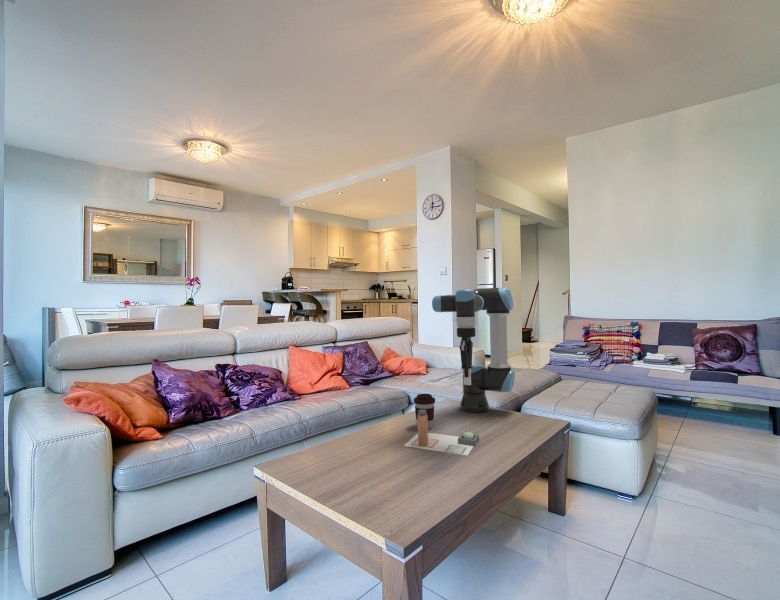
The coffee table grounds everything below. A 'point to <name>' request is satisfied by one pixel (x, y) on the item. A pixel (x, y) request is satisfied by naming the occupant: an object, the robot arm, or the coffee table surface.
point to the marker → (422, 428)
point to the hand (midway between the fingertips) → (467, 384)
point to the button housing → (468, 440)
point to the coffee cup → (425, 407)
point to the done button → (468, 435)
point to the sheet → (441, 444)
